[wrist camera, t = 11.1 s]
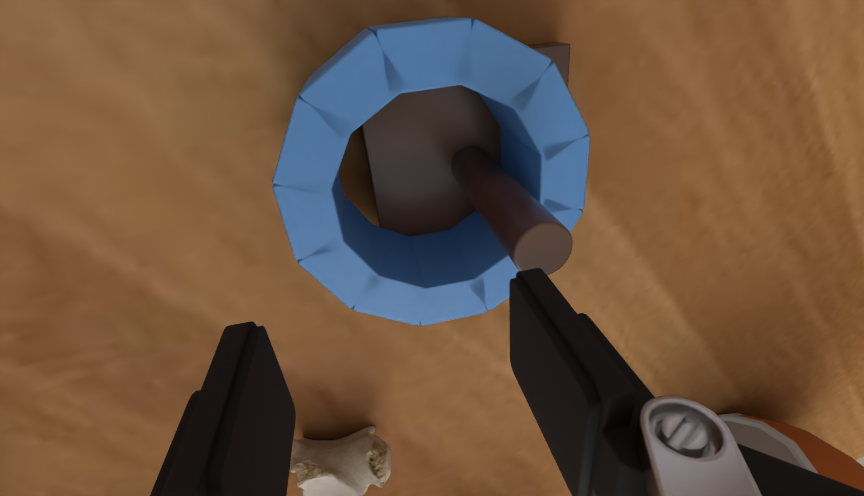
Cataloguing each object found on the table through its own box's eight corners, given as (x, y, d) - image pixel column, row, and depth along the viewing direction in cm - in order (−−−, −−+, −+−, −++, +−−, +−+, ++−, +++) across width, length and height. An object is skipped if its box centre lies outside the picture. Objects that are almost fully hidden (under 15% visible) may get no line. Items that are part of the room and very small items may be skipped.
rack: (351, 67, 19) (357, 111, 10) (556, 41, 20) (724, 60, 11) (384, 253, 24) (408, 393, 15) (548, 224, 25) (661, 339, 16)
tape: (257, 39, 17) (228, 47, 13) (541, 5, 18) (602, 0, 14) (325, 284, 23) (321, 346, 19) (536, 245, 24) (578, 294, 20)
